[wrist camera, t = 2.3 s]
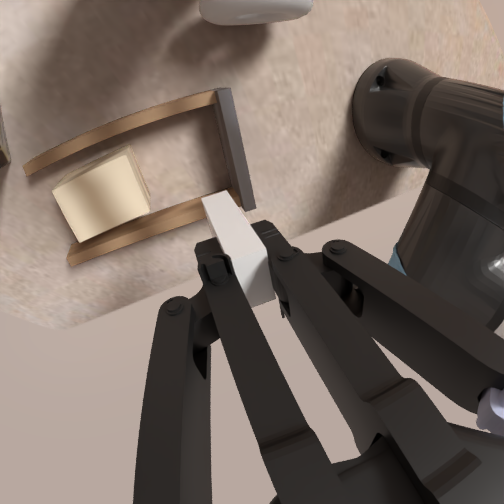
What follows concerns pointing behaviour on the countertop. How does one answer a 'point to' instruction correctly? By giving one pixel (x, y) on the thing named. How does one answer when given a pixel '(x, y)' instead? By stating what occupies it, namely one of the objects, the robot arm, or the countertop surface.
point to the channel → (174, 214)
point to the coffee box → (3, 145)
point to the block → (103, 194)
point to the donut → (253, 11)
